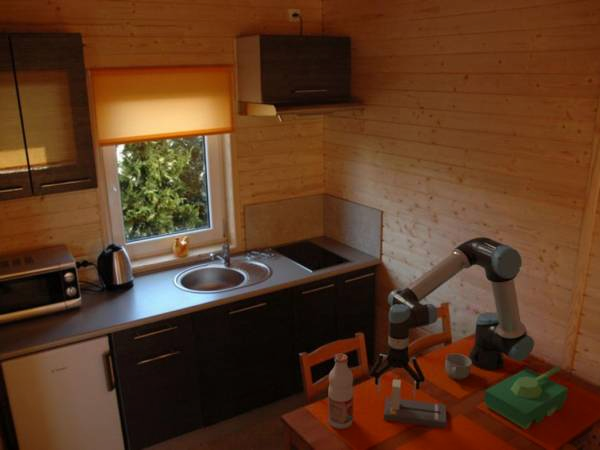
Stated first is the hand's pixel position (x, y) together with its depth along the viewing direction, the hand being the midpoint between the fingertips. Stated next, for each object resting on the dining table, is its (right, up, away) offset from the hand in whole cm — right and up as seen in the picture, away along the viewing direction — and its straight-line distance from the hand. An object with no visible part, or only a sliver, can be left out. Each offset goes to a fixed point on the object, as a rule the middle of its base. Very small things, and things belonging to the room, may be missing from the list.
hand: (396, 393), depth 208 cm
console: (+7, -8, +1) cm, 11 cm away
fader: (0, -5, +2) cm, 5 cm away
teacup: (+30, -1, +25) cm, 39 cm away
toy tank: (+54, -7, +7) cm, 55 cm away
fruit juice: (-22, -10, -2) cm, 24 cm away
